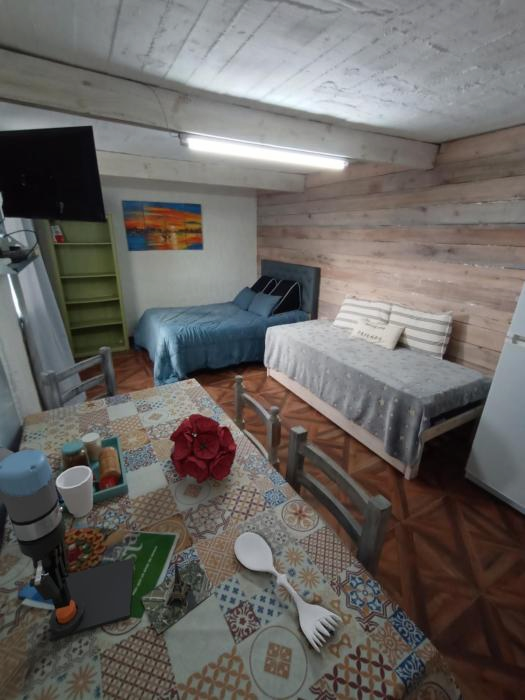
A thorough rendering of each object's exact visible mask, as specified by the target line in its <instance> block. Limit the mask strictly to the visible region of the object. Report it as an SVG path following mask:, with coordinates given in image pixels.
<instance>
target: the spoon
mask: <svg viewBox="0 0 525 700" xmlns="http://www.w3.org/2000/svg"><path fill="white" fill-rule="evenodd" d="M233 547H234V553H235V556H236V558H237V560H238V561H239V562H240V563H241V564H242V565H243V566H244V567H245V568H247V569H249V570H252V571H256V572H265V573H271V574H272V575H273V576H275V577H276V581H275V582H276V585H278V586H282V587H284V589H286V591H287V592H288V593H289V594H290V595H291V597H292V599H293V601H294V603H295V606H296V608H297V611H298V618H299V624H300V625H299V626H300V627H301V628H300V629H301V630H302V632H303V634H304V636H305V637H306V639H307V640H308V642H309V643H310V645H311V646H312V647H313V649H314V650H315V651H317V653H321V650H320V648H319V647H318V645H319V646H320V647H322V648H324V646H323V644H322V642H324V643H327V641H326V639H325V638H324V637H323V636H322V634H323V635H325V636H326V637H331V634H330V633H329V631H328V630H327V629H326V628H328V629H330V630H331V631H333V632H336V630H335V628H334V627H333V626H335V627H337V628H339V625H338V623H337V622H339V623H341V624H344V620H343V619H342V618H341V617H340V615H338V614H335V613H333V612H332V611H330V610H328V609H327V608H325V607H323V606H320V605H317V604H311V603H309V602H306V601H304V600H303V599H302V598H301V596H300V595H299V594H298V593H297V591H296V590H295V589H294V588H293V587H292V585H291V584H290V583H289V582H288V576H287V575H286V574H284V573H283V574H281V573H279V572H278V571H277V570H276V568H275V566H274V559H273V553H272V550H271V547H270V545H269V544H268V543H267V542H266V540H265V538H263V537H262V536H261V535H259V534H257V533H255V532H252V531H246V532H244V533H241V534H240V535H239V536H238V537H237V538H236V539H235V542H234V545H233ZM336 621H337V622H336ZM331 624H332V625H331ZM324 626H325V627H324ZM320 633H321V634H320ZM320 640H321V641H322V642H321V641H320Z"/></svg>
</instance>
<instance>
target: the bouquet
mask: <svg viewBox="0 0 525 700" xmlns="http://www.w3.org/2000/svg"><path fill="white" fill-rule="evenodd" d="M220 424H221V423H220V422H218V421H217V420H215V419H214V418H212V417H208V416H206V415H203V414H199V413H193V414H190V415H189V417H188V418H187V417H186V418H184V419H183V420H182V421H181V422H180V425H179V426H177V428H176V429H175V430H174V431H173V432H172V433H171V434H170V435H169V438H168V440H169V441H171V442H172V443H174V444H173V445H172V447H170V456H169V458H170V459H171V462H172V465H173V468H174V469H175V472H176V474H177V475H179V477H180V478H179V479H184V478H186V477H187V476H189V477H191V478H193V479H196V483H197V485H201V484H202V483H203V482H206V481H207V480H209V479H211V478H212V479H213V480H215V481H217V482H218V481H219V482H222V481H223V480H224V479H226V478H227V477H229V476H230V475H231V473H232V466H233V465H234V463H235V462H234V461H235V458H236V452H237V448H238V445H237V444H236V441H235V439H234V437H233V434H232V432H231V429H230V428H229V427H228V426H226V425H224V426H223V425H221V426H220Z"/></svg>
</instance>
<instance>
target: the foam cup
mask: <svg viewBox="0 0 525 700" xmlns="http://www.w3.org/2000/svg"><path fill="white" fill-rule="evenodd" d="M93 479H94V474H93V470H92V469H91V468H90V467H89V466H86V465H77V466H76V465H75V466H73V467H70V468H67V469H66V470H64V471H63V472H61V473H60V474H59V475H58V476H57V477H56V480H55V487H56V491H58V493H59V494H60V496H61V499H62V501H63V502H64V504H65V507H66V509H67V511H68V513H69V514H72V517H73V518H75V519H77V518H83V517H85V516H86V515H88V514H89V513H90V512H92V510H93V506H94V491H93V490H94V487H93V485H94V484H93Z"/></svg>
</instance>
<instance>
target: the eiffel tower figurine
mask: <svg viewBox="0 0 525 700" xmlns="http://www.w3.org/2000/svg"><path fill="white" fill-rule="evenodd" d="M174 559H175V560H174V574H173V575H170V577H168V578H167V579H165V580H164V581H162V582H161V583H159V584H158V585H157V586H155V587H154V588H152V589H151V590H150V591H149V592H146V594H144V595H143V596H142V597H140V600H141V602H142V605H143V607H144V609H145V611H146V613H147V615H148V617H149V619H150V621H151V623H152V625H153V627H154V629H155V631H156V633H157V635H160V634H161V633H163V632H164V631H166V630H167V629H169V627H171V626H172V625H174V624H175V623H176V622H178V621H179V620H180V619H181V618H182V617H183V616H184V615H186V614H187V613H189V612H190V611H191V610H192V609H193V608H194V607H196V606H197V605H199V604H200V603H202V602H203V601H204V600H205V599H207V598H209V596H212V594H214V593H215V592H217V588H216V587H215V585H214V584H213V583H212V581H211V580H210V579H209V577H208V576H207V574H206V573H205V572H204V570H203V569H202V567H201V565H199V563H198V562H197V560H196V559H194V560H192V561H191V562H189V563H188V564H186V565H185V566H184V567H182V568H181V569H180V570H179V566H178V560H177V558H174Z"/></svg>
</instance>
